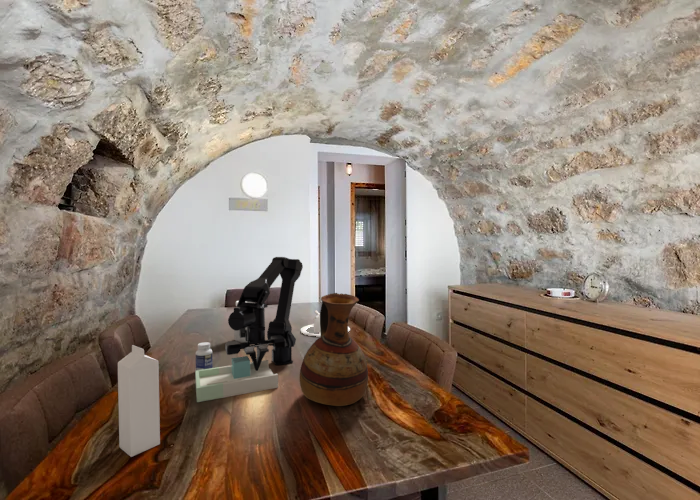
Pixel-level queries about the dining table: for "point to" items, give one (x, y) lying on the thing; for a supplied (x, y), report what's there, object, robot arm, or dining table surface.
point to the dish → (316, 327)
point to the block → (240, 367)
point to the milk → (138, 402)
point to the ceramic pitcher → (334, 357)
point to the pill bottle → (204, 356)
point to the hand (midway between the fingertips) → (256, 370)
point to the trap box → (233, 382)
